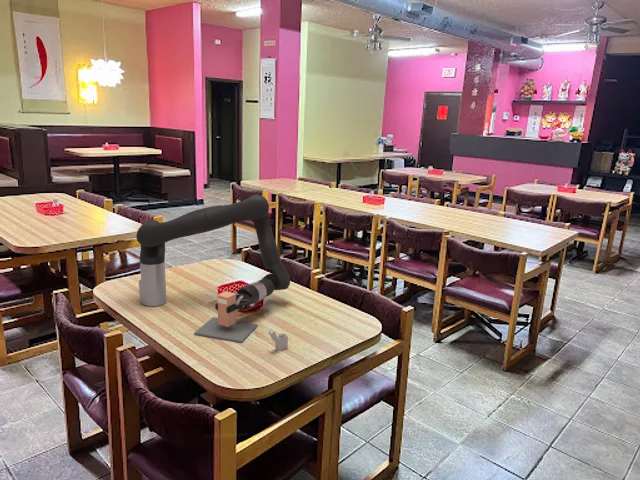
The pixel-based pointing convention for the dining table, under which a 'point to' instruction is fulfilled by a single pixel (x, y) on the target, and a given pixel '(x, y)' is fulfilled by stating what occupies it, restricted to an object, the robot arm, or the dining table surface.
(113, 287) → the dining table surface
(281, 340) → the lighter
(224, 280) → the dining table surface
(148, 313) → the dining table surface
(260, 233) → the robot arm
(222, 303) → the block
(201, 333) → the mat
